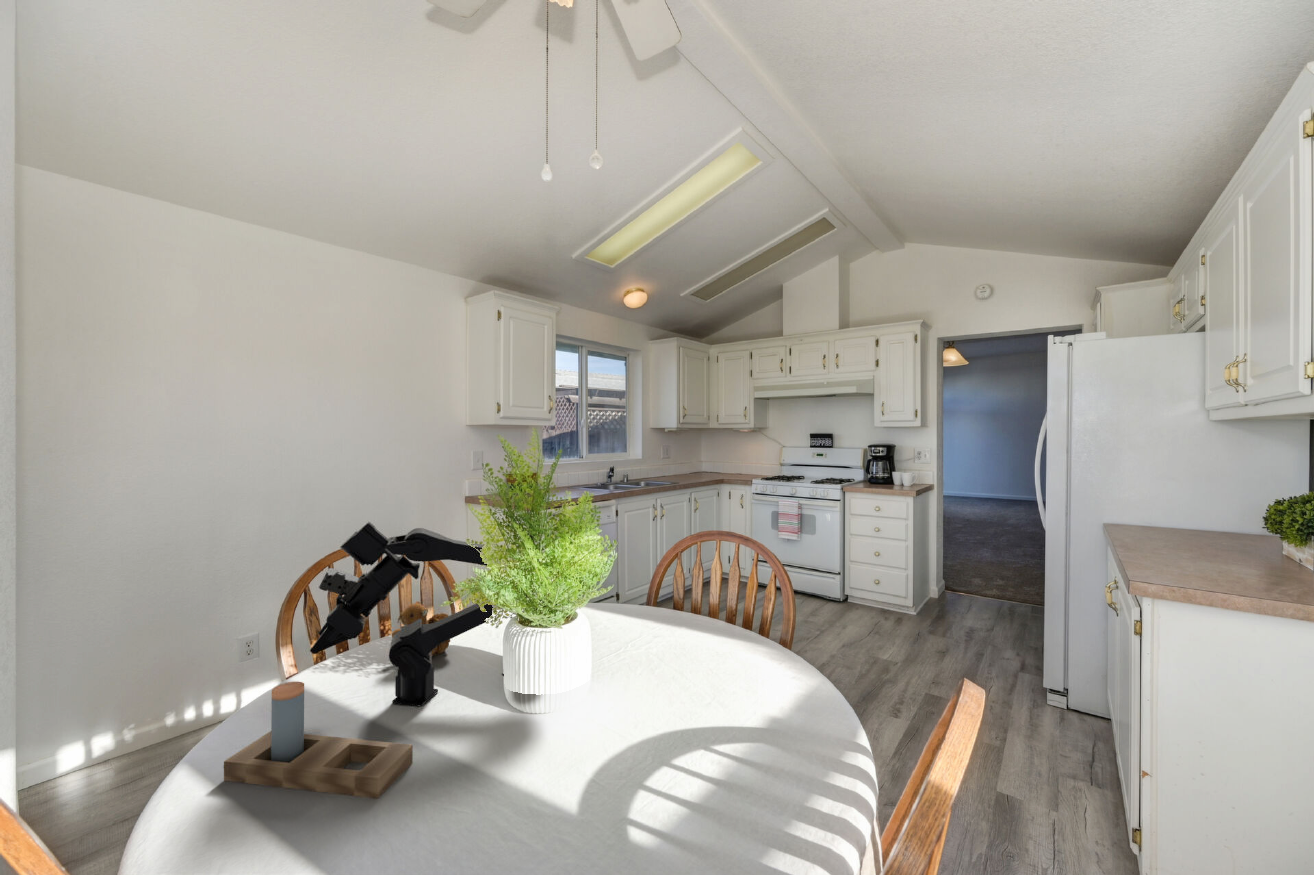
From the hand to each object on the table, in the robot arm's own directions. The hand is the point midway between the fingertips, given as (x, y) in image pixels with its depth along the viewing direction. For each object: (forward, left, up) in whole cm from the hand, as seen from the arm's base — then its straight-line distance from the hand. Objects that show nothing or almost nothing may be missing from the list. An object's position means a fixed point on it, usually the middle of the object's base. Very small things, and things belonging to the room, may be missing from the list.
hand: (316, 643), depth 107 cm
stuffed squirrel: (-5, -29, -14) cm, 32 cm away
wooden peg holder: (-14, +16, -14) cm, 25 cm away
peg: (-8, +16, -14) cm, 23 cm away
